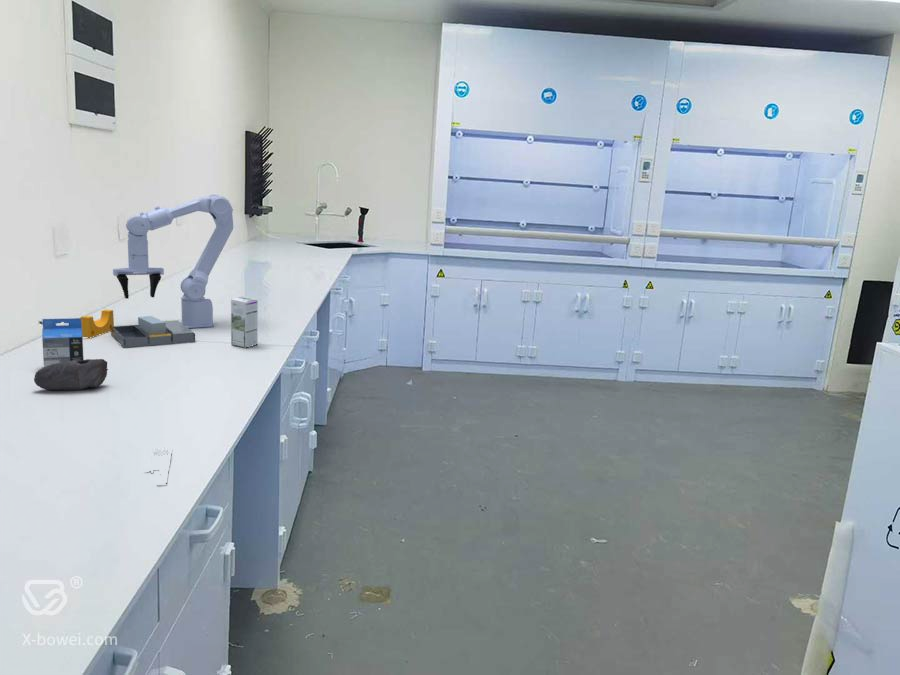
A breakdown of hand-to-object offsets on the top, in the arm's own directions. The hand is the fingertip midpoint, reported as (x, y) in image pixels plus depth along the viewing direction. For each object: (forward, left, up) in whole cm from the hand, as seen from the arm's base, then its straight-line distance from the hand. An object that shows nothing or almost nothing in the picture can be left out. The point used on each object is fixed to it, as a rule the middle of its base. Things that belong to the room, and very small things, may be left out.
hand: (139, 297), depth 214 cm
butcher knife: (+23, +107, -10) cm, 110 cm away
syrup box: (-22, +32, -10) cm, 40 cm away
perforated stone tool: (+28, +56, -10) cm, 63 cm away
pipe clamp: (+14, +3, -10) cm, 17 cm away
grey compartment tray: (0, +15, -10) cm, 18 cm away
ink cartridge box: (+27, +37, -10) cm, 47 cm away
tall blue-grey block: (0, +14, -9) cm, 17 cm away
